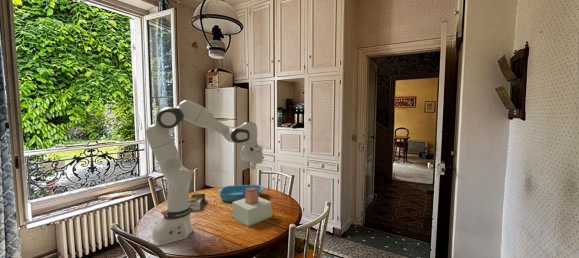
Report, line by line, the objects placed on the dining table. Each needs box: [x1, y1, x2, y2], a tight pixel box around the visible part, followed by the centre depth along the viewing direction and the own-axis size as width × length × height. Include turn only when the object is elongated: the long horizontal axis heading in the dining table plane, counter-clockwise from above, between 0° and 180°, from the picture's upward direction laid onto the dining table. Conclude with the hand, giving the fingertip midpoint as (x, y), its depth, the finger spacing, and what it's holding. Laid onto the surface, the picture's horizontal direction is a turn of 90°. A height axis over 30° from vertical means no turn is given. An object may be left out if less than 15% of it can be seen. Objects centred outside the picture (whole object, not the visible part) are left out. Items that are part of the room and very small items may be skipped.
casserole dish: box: [217, 184, 265, 202], centre depth 189 cm, size 37×22×7 cm, turn 93°
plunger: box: [245, 187, 258, 205], centre depth 152 cm, size 6×6×12 cm
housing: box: [231, 196, 273, 227], centre depth 152 cm, size 19×19×10 cm
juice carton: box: [189, 193, 206, 212], centre depth 172 cm, size 20×10×6 cm, turn 10°
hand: (251, 168), depth 150 cm, fingers open, 4 cm apart
